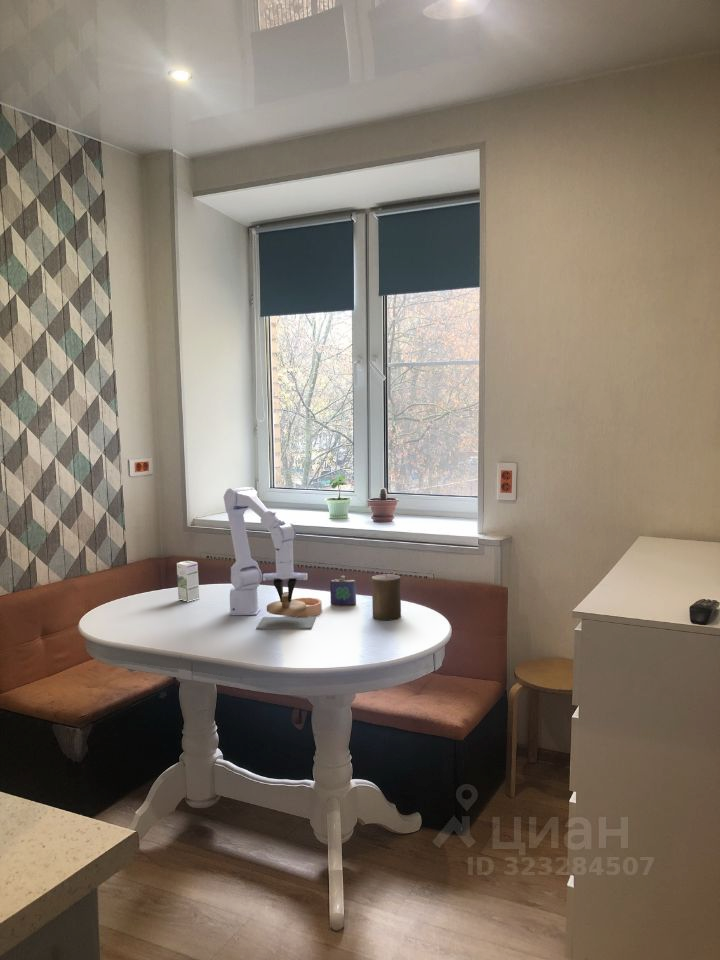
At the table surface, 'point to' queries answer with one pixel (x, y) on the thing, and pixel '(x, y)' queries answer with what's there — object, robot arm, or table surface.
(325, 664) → the table surface
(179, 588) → the syrup box
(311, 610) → the bowl
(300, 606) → the lid
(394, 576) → the pillar candle
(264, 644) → the table surface
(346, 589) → the flask
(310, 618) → the mat
